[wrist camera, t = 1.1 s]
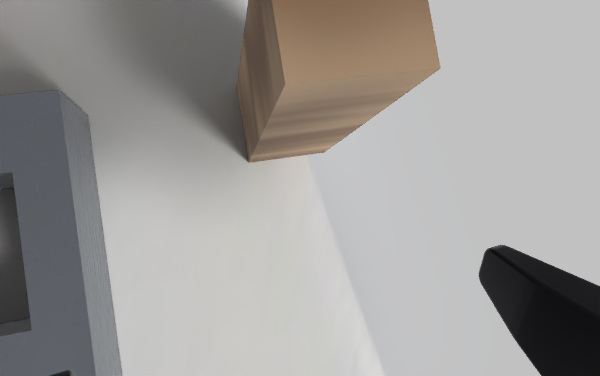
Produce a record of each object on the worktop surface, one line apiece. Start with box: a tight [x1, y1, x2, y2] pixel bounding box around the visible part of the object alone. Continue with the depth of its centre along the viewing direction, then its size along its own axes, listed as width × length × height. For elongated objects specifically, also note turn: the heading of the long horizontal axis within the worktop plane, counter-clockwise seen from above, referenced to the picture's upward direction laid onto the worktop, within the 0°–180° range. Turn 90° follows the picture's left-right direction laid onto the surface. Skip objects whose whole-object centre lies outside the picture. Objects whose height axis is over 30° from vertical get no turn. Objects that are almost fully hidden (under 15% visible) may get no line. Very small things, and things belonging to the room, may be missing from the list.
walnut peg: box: [237, 0, 440, 162], centre depth 17 cm, size 4×4×12 cm
